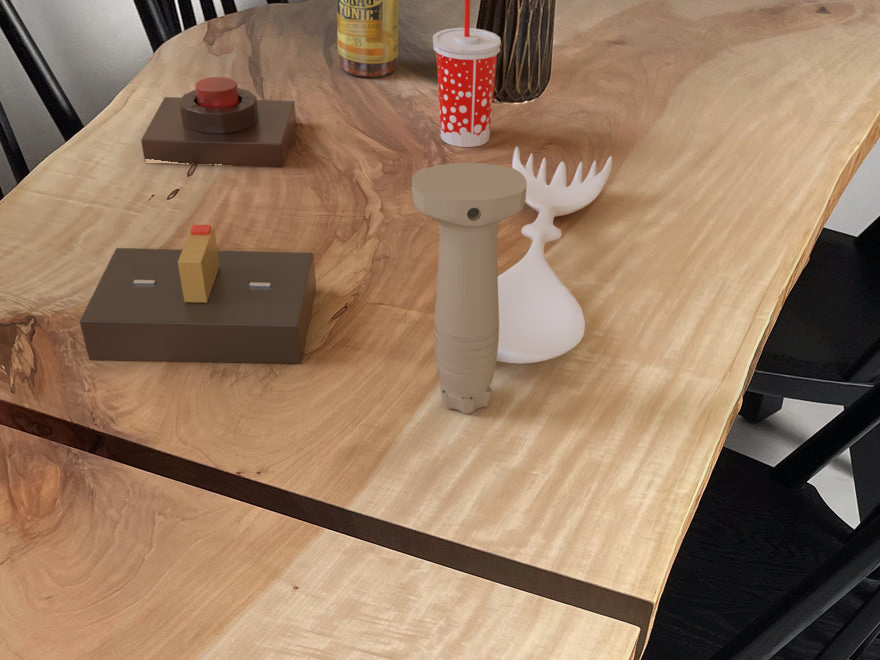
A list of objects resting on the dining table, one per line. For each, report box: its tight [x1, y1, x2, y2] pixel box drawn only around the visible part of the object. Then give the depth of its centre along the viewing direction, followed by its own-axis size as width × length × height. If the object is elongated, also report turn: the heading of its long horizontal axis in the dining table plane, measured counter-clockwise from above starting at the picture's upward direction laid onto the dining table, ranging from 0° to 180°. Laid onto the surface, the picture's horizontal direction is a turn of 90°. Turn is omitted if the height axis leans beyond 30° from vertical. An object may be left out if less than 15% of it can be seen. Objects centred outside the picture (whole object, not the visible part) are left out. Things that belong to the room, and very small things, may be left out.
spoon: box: [496, 145, 613, 364], centre depth 84 cm, size 9×32×3 cm, turn 172°
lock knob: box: [178, 224, 219, 303], centre depth 74 cm, size 5×2×3 cm, turn 2°
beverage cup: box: [432, 0, 502, 148], centre depth 99 cm, size 6×6×14 cm
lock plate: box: [79, 247, 317, 364], centre depth 76 cm, size 14×10×3 cm
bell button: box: [194, 76, 239, 109], centre depth 97 cm, size 4×4×2 cm
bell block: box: [140, 87, 297, 168], centre depth 99 cm, size 12×10×4 cm
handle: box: [411, 162, 527, 414], centre depth 66 cm, size 5×6×15 cm
